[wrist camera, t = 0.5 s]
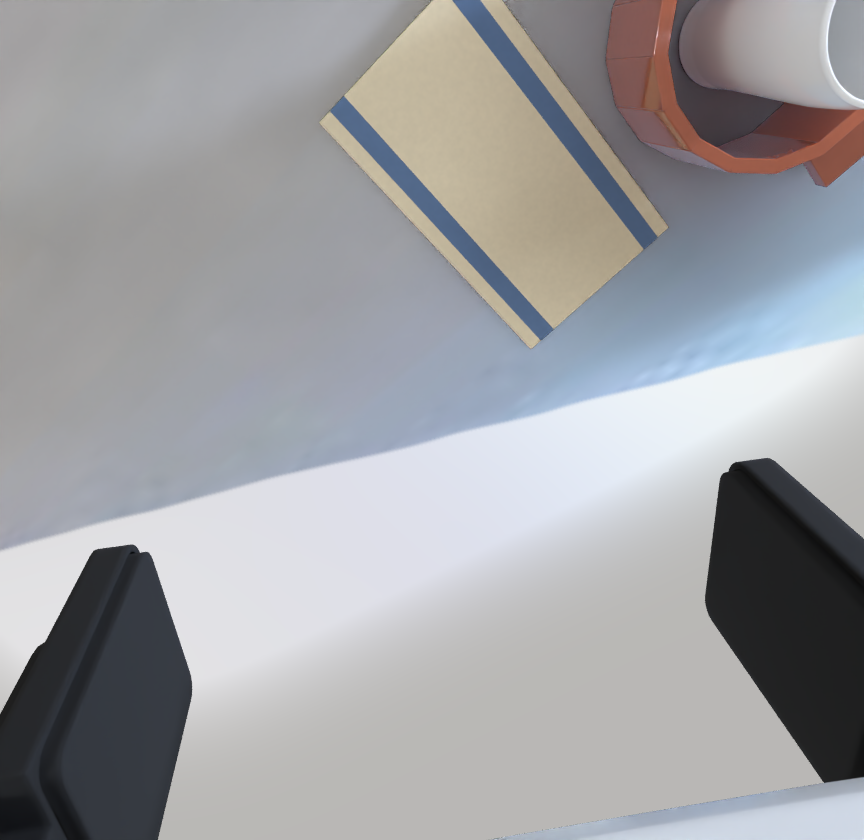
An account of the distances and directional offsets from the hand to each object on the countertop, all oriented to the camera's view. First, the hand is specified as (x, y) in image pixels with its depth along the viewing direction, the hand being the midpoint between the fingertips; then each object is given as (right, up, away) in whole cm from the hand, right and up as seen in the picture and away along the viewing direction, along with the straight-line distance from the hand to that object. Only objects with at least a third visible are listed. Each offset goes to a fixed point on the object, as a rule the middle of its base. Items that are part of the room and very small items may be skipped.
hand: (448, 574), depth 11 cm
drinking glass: (+17, +25, +30) cm, 43 cm away
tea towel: (+4, +18, +32) cm, 37 cm away
